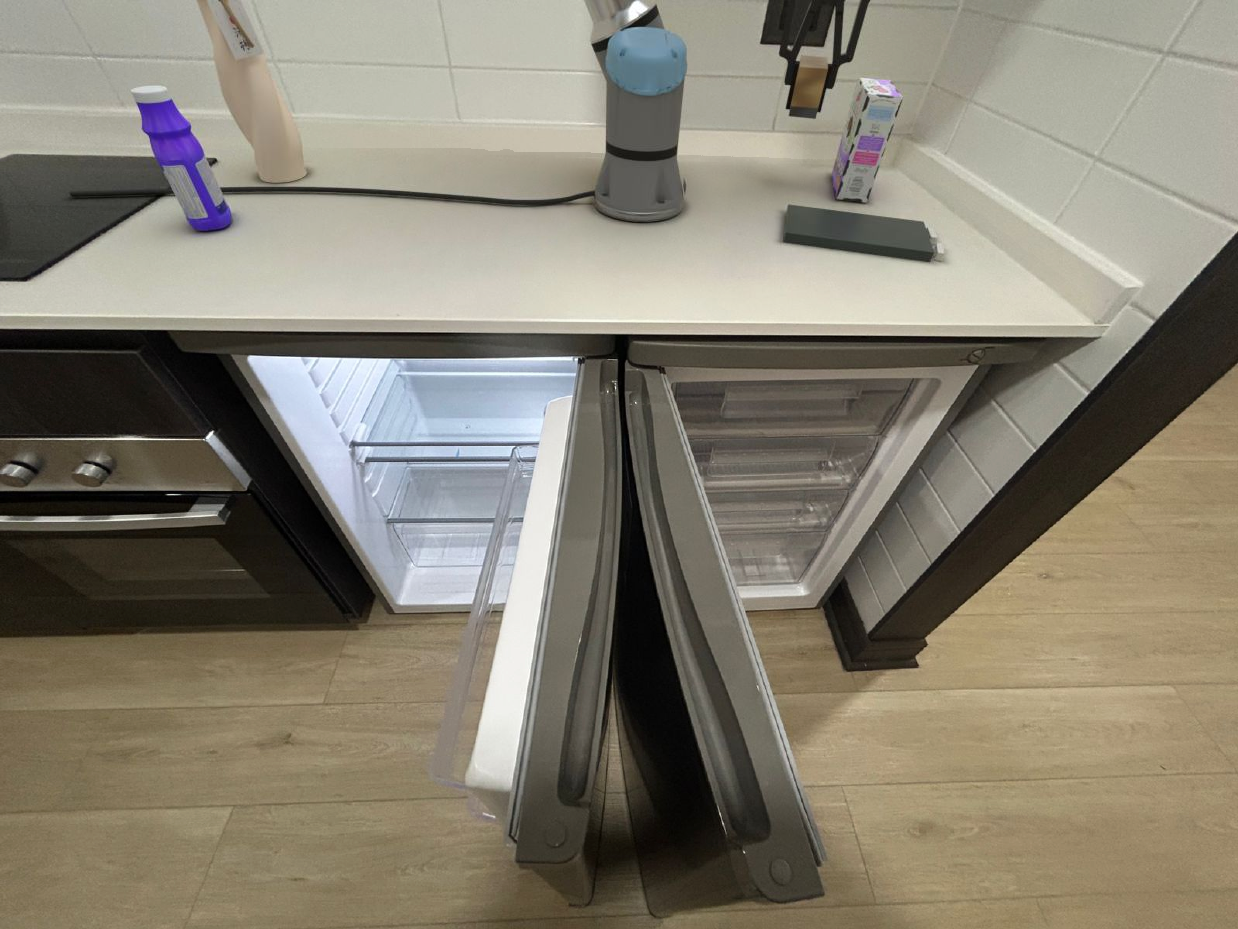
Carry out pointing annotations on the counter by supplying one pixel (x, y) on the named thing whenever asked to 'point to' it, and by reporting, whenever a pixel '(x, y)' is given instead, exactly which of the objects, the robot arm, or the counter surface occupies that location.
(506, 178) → the counter surface
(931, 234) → the chalk
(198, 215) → the bottle
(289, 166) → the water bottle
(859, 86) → the candy box
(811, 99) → the eraser
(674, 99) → the robot arm
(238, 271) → the counter surface
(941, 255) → the chalk
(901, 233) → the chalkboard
